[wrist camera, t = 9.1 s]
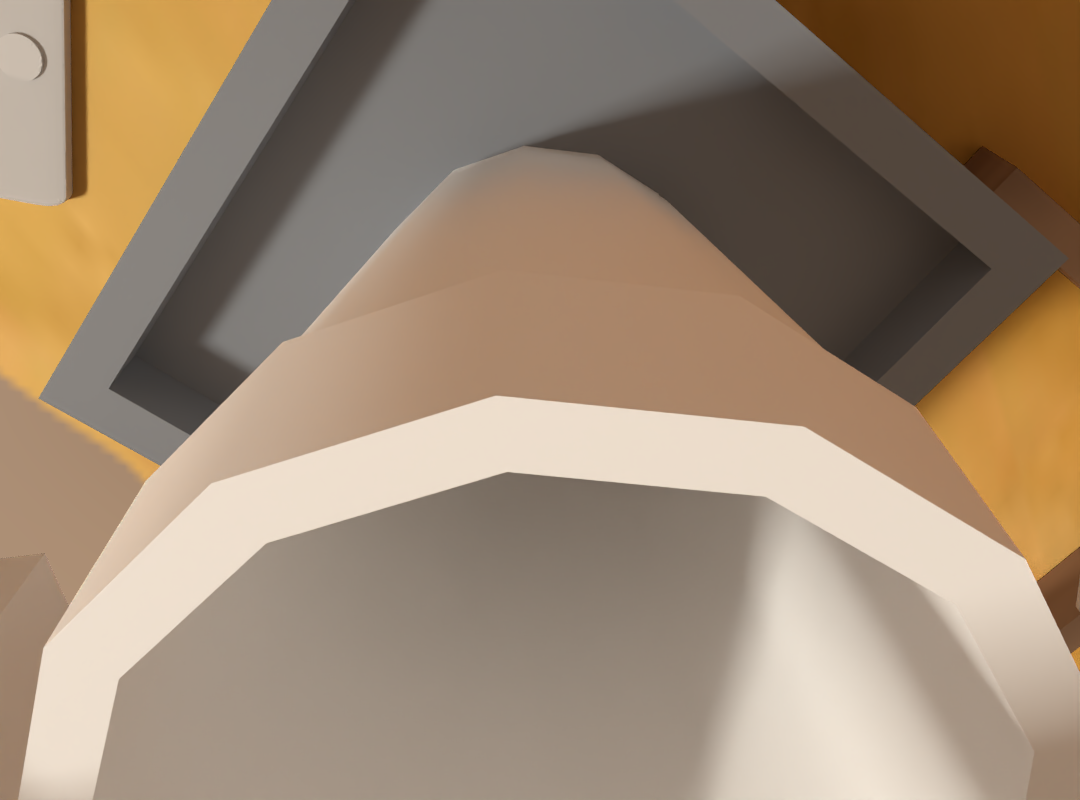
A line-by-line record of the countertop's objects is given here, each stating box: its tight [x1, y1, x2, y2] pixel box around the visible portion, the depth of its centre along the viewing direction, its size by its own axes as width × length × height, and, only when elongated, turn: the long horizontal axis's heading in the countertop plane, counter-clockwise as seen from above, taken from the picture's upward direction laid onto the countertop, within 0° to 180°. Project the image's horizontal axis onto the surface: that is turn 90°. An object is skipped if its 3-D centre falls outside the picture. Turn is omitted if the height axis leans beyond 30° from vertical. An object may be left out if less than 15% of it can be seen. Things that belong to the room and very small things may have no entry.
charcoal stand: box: [39, 0, 1069, 466], centre depth 22 cm, size 14×14×8 cm
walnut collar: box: [964, 146, 1080, 653], centre depth 28 cm, size 13×13×2 cm
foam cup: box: [18, 146, 1080, 800], centre depth 15 cm, size 10×9×13 cm
